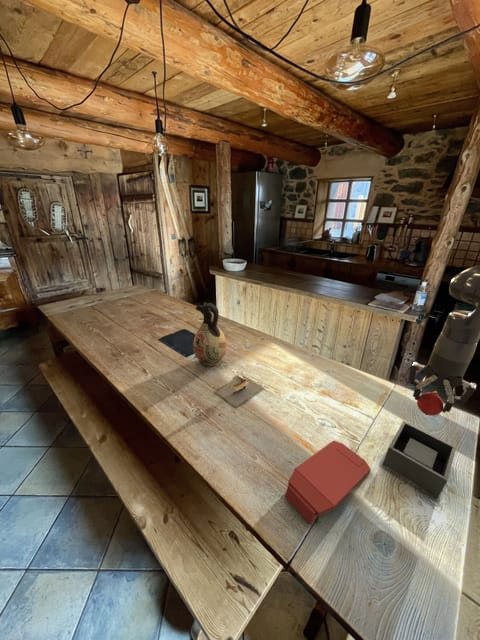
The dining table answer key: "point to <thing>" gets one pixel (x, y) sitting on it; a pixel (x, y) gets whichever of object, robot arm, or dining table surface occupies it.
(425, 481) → the crate
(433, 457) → the block
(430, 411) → the onion
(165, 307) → the dining table surface
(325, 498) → the carton
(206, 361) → the ceramic jug
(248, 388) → the architectural model
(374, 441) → the dining table surface
